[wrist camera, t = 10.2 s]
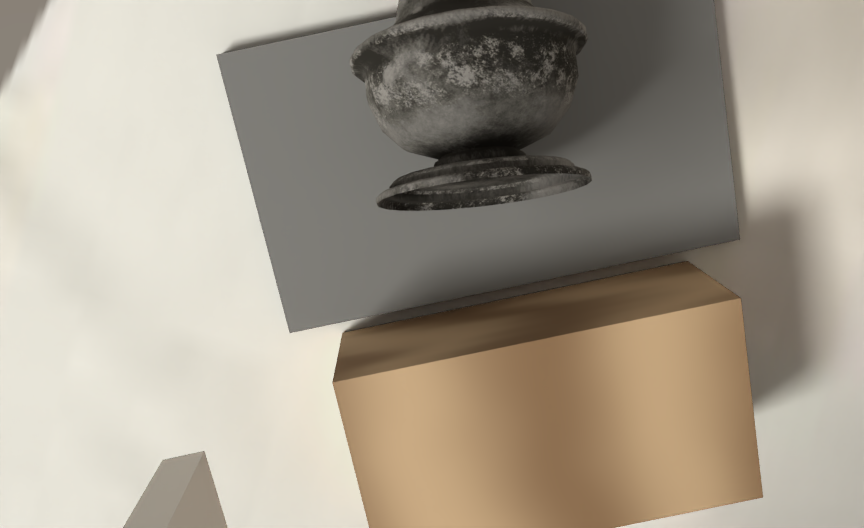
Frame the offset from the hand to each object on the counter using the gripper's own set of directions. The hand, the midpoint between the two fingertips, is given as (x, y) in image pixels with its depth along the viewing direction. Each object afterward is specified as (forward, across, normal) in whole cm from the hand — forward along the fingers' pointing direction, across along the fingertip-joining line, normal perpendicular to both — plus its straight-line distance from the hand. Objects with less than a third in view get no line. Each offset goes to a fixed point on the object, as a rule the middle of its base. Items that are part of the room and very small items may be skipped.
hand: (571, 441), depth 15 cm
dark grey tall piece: (+6, 0, +4) cm, 7 cm away
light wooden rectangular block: (+11, 0, -3) cm, 11 cm away
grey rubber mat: (+11, +1, +4) cm, 11 cm away
